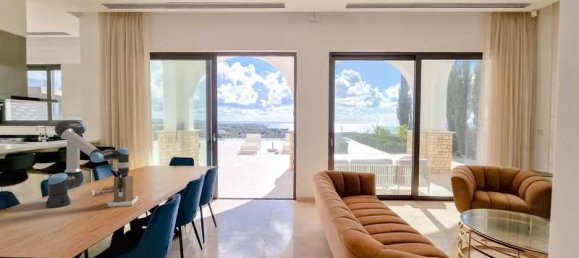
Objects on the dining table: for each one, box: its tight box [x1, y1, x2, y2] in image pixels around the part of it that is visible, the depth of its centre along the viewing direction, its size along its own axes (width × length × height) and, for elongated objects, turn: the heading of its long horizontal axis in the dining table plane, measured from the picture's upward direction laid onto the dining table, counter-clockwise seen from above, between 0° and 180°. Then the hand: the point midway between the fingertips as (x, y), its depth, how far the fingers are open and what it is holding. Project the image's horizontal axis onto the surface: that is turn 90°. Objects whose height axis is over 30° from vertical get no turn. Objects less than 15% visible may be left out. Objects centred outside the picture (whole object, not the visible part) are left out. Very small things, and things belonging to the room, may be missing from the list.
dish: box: [107, 195, 139, 208], centre depth 242 cm, size 17×17×3 cm
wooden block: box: [113, 175, 134, 202], centre depth 242 cm, size 10×10×20 cm
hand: (123, 194), depth 242 cm, fingers open, 13 cm apart
